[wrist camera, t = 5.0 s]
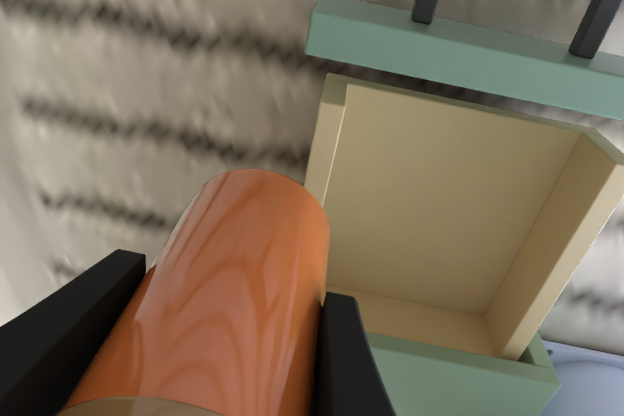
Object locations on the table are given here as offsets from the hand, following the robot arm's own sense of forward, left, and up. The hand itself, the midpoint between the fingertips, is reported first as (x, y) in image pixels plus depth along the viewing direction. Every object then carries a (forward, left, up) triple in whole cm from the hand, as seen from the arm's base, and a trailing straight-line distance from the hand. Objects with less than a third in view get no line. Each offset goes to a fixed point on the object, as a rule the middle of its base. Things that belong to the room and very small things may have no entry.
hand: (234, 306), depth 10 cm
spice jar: (0, 0, -3) cm, 3 cm away
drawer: (-6, -1, -10) cm, 11 cm away
